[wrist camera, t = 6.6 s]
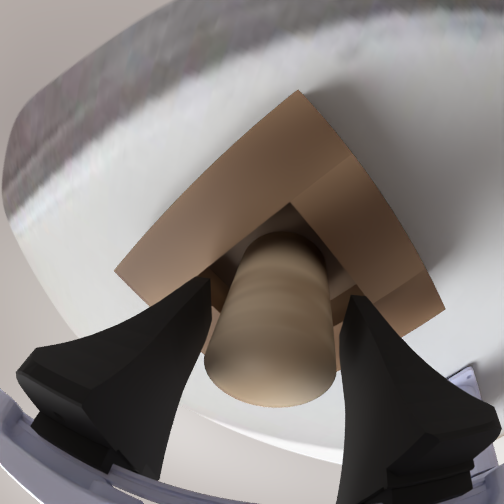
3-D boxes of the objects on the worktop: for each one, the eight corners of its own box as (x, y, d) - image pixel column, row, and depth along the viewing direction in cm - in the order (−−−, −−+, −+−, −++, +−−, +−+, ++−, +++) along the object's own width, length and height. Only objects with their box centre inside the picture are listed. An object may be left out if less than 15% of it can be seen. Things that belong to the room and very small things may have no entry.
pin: (342, 277, 13) (359, 380, 8) (277, 317, 15) (262, 417, 9) (289, 213, 12) (279, 300, 7) (223, 264, 14) (178, 358, 8)
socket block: (425, 275, 13) (445, 309, 11) (271, 364, 18) (265, 400, 15) (298, 96, 11) (298, 89, 8) (142, 244, 15) (113, 270, 12)
